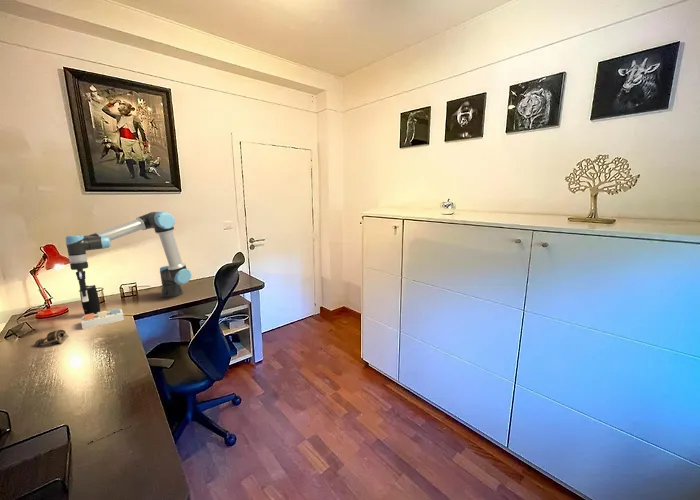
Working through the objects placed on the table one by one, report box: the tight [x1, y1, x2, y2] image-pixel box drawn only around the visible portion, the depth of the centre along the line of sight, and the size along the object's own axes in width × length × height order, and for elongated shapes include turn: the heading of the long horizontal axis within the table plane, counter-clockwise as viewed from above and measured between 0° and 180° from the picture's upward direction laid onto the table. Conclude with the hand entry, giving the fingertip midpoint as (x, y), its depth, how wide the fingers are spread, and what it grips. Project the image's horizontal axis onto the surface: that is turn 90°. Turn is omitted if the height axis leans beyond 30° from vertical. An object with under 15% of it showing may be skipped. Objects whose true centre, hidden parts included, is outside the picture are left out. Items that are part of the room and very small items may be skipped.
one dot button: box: [109, 307, 120, 315], centre depth 183 cm, size 4×4×3 cm
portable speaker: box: [79, 284, 101, 315], centre depth 190 cm, size 8×9×19 cm
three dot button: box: [83, 313, 95, 320], centre depth 176 cm, size 4×4×3 cm
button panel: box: [81, 308, 125, 330], centre depth 180 cm, size 19×12×4 cm, turn 131°
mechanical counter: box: [34, 328, 69, 347], centre depth 153 cm, size 7×13×10 cm
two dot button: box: [97, 310, 108, 317], centre depth 179 cm, size 4×4×3 cm
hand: (85, 301), depth 174 cm, fingers closed
